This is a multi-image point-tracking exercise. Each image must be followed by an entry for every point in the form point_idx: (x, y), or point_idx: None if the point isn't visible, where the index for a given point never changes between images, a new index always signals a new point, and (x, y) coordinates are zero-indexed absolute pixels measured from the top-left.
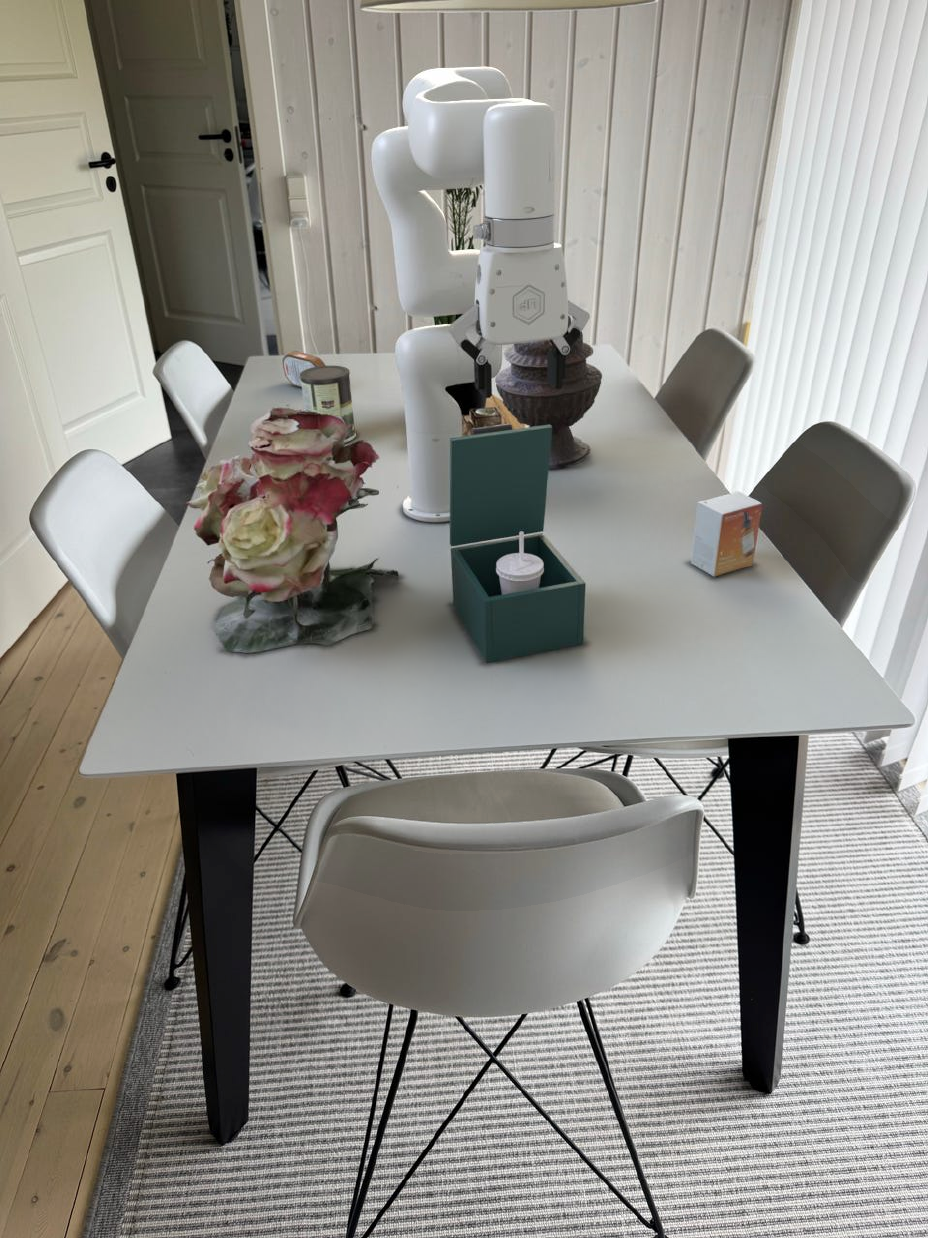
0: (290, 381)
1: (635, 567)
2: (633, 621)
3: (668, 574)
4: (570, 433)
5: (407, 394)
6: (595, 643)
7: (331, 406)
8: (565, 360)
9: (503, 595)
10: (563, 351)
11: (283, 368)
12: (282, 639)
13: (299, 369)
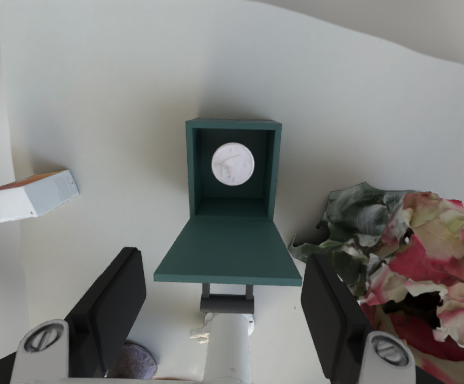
0: None
1: (122, 203)
2: (149, 134)
3: (101, 185)
4: (108, 373)
5: None
6: (187, 115)
7: None
8: (72, 310)
9: (262, 127)
10: (57, 331)
11: None
12: (390, 200)
13: None
